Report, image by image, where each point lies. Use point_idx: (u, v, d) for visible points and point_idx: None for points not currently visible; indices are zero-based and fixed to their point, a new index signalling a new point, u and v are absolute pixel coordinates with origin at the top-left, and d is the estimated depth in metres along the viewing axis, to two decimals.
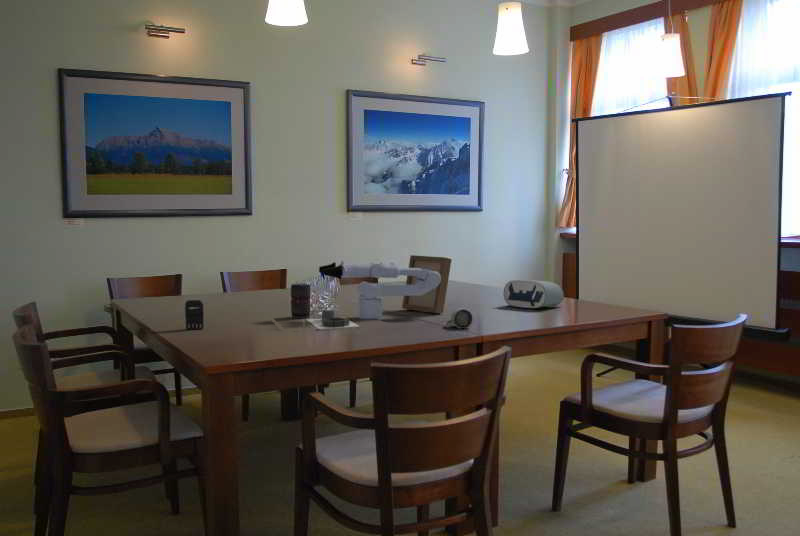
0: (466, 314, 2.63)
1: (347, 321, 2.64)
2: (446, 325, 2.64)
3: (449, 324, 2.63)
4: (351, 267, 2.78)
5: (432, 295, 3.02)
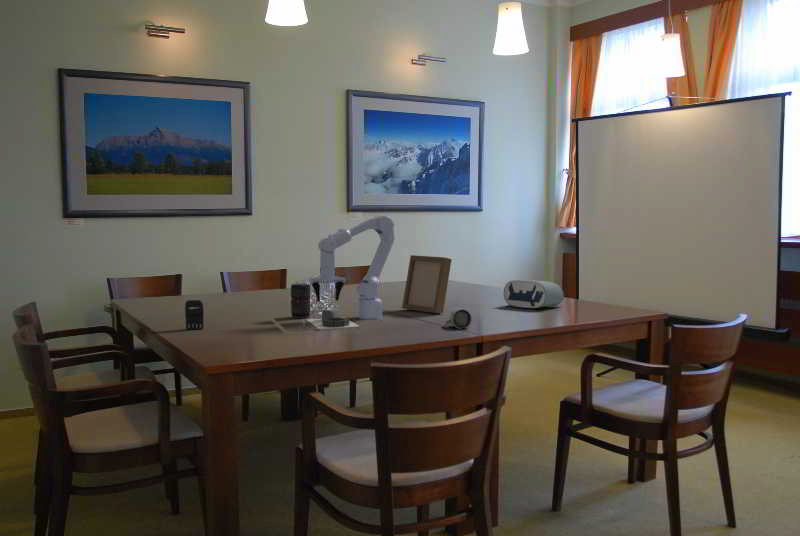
0: (465, 314, 2.63)
1: (347, 321, 2.64)
2: (445, 325, 2.64)
3: (448, 324, 2.63)
4: (334, 271, 2.76)
5: (432, 295, 3.02)
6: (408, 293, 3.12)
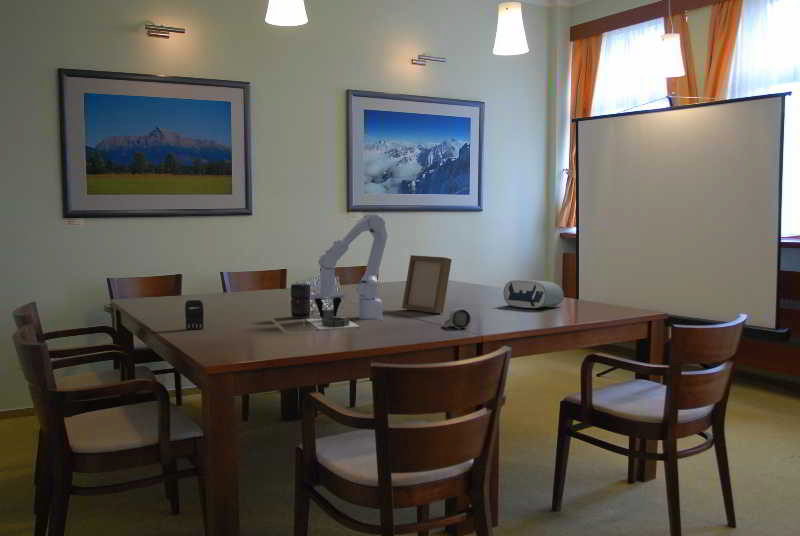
0: (464, 314, 2.63)
1: (347, 321, 2.64)
2: (444, 325, 2.64)
3: (447, 324, 2.63)
4: (334, 287, 2.76)
5: (432, 295, 3.02)
6: (408, 293, 3.12)
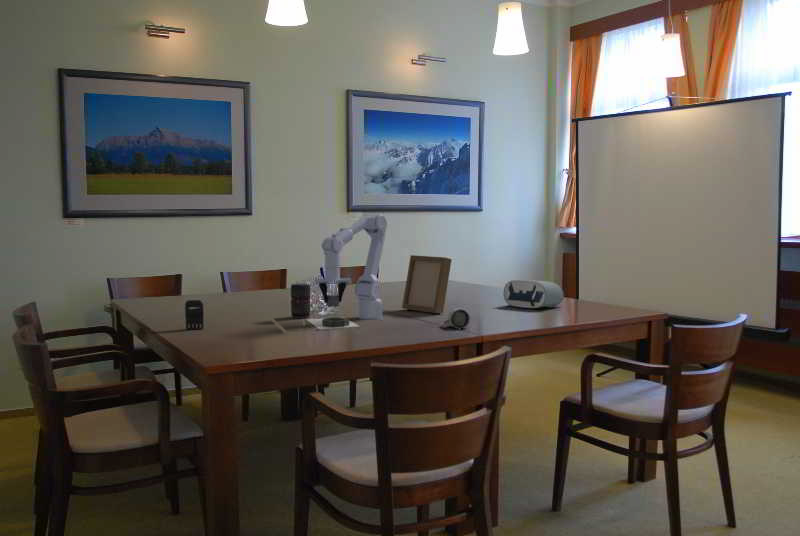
0: (463, 314, 2.63)
1: (347, 321, 2.64)
2: (443, 325, 2.64)
3: (446, 324, 2.63)
4: (339, 272, 2.67)
5: (432, 295, 3.02)
6: (408, 293, 3.12)
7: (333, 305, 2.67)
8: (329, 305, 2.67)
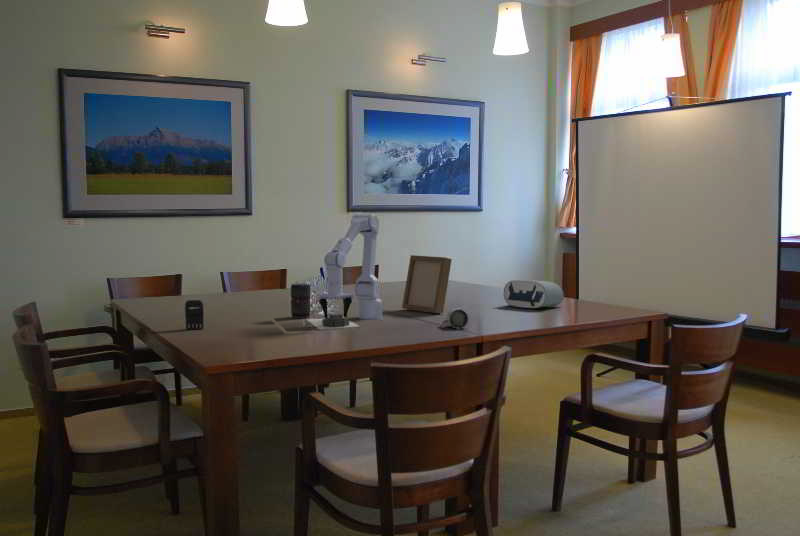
0: (462, 314, 2.63)
1: (347, 321, 2.64)
2: (442, 325, 2.63)
3: (445, 324, 2.63)
4: (342, 287, 2.64)
5: (432, 295, 3.02)
6: (408, 293, 3.12)
7: None
8: None
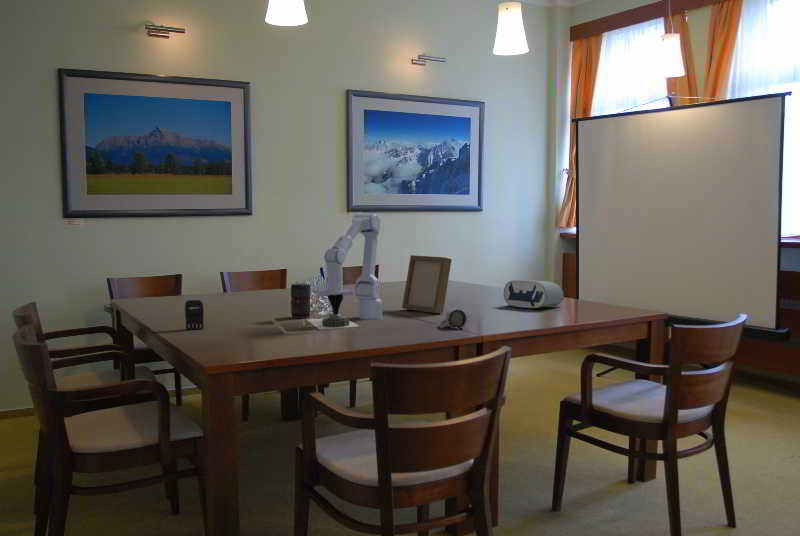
0: (460, 314, 2.63)
1: (347, 321, 2.64)
2: (440, 325, 2.63)
3: (443, 324, 2.63)
4: (342, 283, 2.64)
5: (432, 295, 3.02)
6: (408, 293, 3.12)
7: None
8: None
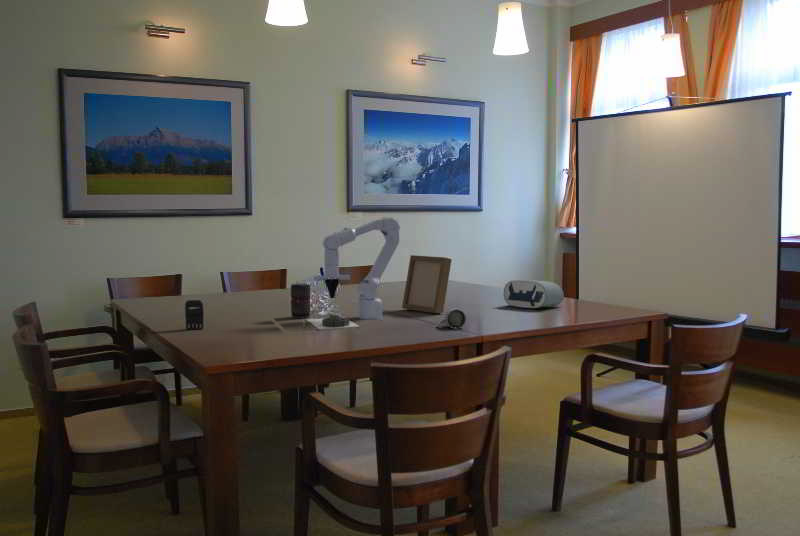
0: (459, 314, 2.63)
1: (347, 321, 2.64)
2: (439, 325, 2.63)
3: (442, 324, 2.63)
4: (338, 268, 2.77)
5: (432, 295, 3.02)
6: (408, 293, 3.12)
7: None
8: None
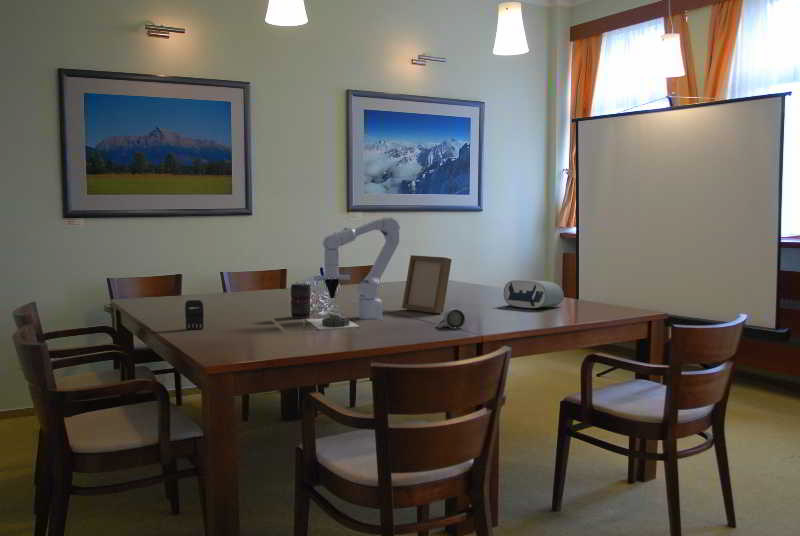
0: (459, 314, 2.63)
1: (347, 321, 2.64)
2: (439, 325, 2.63)
3: (441, 324, 2.63)
4: (338, 268, 2.77)
5: (432, 295, 3.02)
6: (408, 293, 3.12)
7: None
8: None
